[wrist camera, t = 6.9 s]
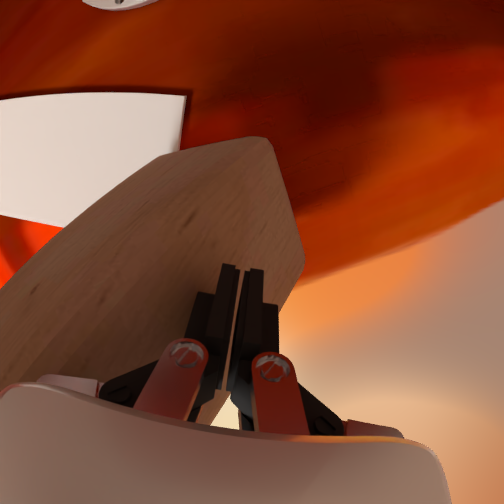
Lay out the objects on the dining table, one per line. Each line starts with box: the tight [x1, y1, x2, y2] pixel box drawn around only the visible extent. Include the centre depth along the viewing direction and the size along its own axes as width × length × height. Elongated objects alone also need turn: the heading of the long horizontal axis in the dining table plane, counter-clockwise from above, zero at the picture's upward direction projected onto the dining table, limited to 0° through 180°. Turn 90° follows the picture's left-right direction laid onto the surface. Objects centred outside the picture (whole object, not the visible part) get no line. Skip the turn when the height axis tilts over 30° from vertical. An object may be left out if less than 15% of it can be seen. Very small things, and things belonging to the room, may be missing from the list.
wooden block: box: [0, 136, 305, 425], centre depth 15 cm, size 10×10×20 cm
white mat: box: [0, 92, 187, 228], centre depth 23 cm, size 13×22×1 cm, turn 80°
